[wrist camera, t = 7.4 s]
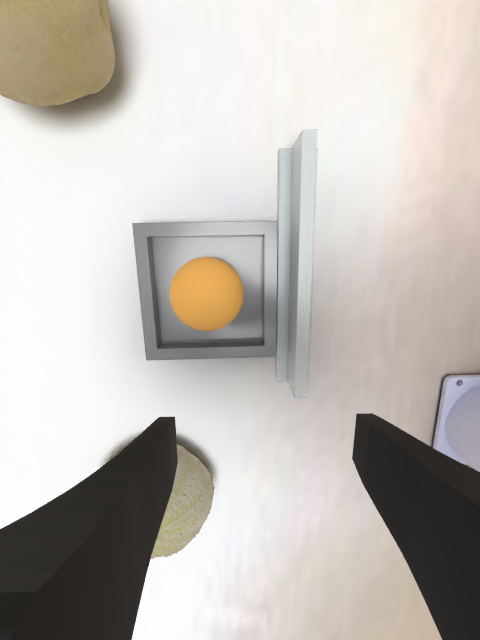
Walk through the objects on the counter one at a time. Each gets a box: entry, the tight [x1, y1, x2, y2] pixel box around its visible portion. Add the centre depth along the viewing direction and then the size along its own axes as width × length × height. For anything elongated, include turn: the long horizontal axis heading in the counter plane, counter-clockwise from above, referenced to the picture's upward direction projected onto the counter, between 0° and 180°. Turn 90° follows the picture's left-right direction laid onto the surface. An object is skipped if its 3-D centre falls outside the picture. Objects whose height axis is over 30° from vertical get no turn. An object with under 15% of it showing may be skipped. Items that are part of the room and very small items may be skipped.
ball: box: [170, 257, 244, 331], centre depth 17 cm, size 4×4×4 cm
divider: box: [276, 130, 317, 398], centre depth 18 cm, size 2×16×3 cm, turn 1°
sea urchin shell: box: [111, 444, 214, 559], centre depth 21 cm, size 9×8×8 cm
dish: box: [132, 221, 277, 360], centre depth 19 cm, size 9×9×2 cm
